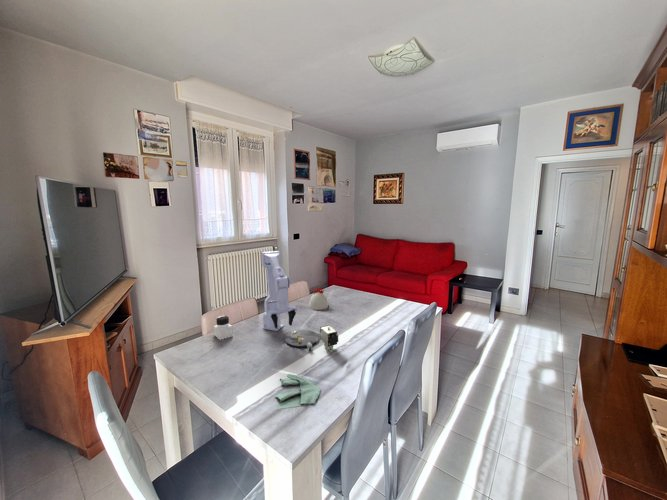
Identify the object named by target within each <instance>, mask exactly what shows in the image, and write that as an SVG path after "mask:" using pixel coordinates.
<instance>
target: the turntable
mask: <svg viewBox="0 0 667 500" xmlns="http://www.w3.org/2000/svg"><path fill="white" fill-rule="evenodd" d="M297 331H300V337H299V338H298V340H291V335H290V333H291V332H289V333H287V335H286V336H285V343H287V344H289V345H291V346H295V347H305V346H306V344H307V343H308V342H310V343H311V344H314V343H316V342H317V341H318V335H317V334H318V333H317V332H315V331H313V330H310V329H309V330H308V329H300V330H297Z"/></svg>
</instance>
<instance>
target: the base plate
mask: <svg viewBox="0 0 667 500" xmlns="http://www.w3.org/2000/svg"><path fill="white" fill-rule="evenodd" d="M317 335H318V341H317V342H316V343H314V344H312V347H311V350H310V351H309V350H308V348H307V346H305V347H295V346H291V345H289V344H287V343H286V342H285V343H281V344H280V346H282V347H287V348H292V349H297V350H304V351H307V352H312V351H313V349H314V348H315V347H316V346H317V345H318V344H319V343H320V342H321V341H322V340H321V337H320V333H317Z"/></svg>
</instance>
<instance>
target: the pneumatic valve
mask: <svg viewBox="0 0 667 500" xmlns="http://www.w3.org/2000/svg"><path fill="white" fill-rule="evenodd" d="M319 334H320V337H321V340H320V341H322V342H323V345H324V346H323V347H324V348H323V350H324V351H326V352H327V353H328V352H329V353H331V352H333V351H334V346H335V345H336V346H337V345H338V343H339V335H338V331H337V330H336V328H334V327H332V326H330V325H324V326H320V329H319Z"/></svg>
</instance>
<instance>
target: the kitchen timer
mask: <svg viewBox="0 0 667 500" xmlns="http://www.w3.org/2000/svg"><path fill="white" fill-rule="evenodd" d="M324 291H325V289H323V288H321V289H320V287H316V289H314V291H312V293H313V294H312V295H311V296H310V299H309V303H308V308H309V309H311V310H315V311H323V310H326V309H328V307H329V304H328V303H329V302H328V299H327V297H326V296H325V294H324Z"/></svg>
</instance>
